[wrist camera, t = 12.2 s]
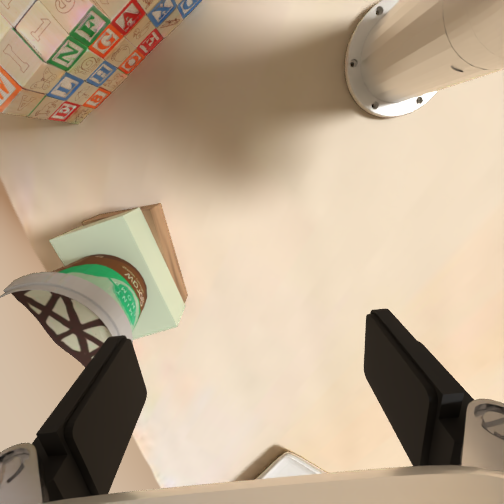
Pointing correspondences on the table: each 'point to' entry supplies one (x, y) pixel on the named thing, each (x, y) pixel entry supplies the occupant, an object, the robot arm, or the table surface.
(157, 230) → the tower base slab
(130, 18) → the stack of blocks
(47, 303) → the food container
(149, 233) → the tower top slab
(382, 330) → the robot arm
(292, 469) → the square plate
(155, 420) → the table surface
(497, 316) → the table surface
